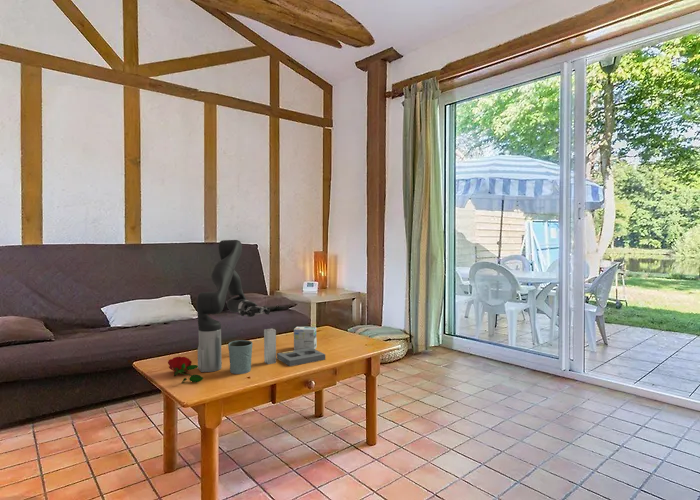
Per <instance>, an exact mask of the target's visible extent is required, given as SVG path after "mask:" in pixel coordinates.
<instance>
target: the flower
mask: <svg viewBox="0 0 700 500" xmlns="http://www.w3.org/2000/svg"><path fill="white" fill-rule="evenodd" d="M167 364H168V368H169V370H171V371H173V372H174V375H173V377H175V376H178V375H179V374H180V375H185V376H189V377H188V378H187V377H185V378H183V379H182V382H181V383H183V382H185V381H187V380H188V381H189V382H191V381H192V382H191V383H200V382H201V381H203V379H204V377H203V376H202V375H199V374H191V373H189V371H191V370H195V369H198V364H192V360H191V359H190V358H189V357H186V356H175V357H173V358H171V359H169V360H168V361H167Z"/></svg>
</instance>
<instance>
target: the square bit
mask: <svg viewBox="0 0 700 500" xmlns="http://www.w3.org/2000/svg"><path fill="white" fill-rule="evenodd" d="M263 340H264V341H263V347H264V348H263V351H264V353H263V356H264V357H263V360H264V363H265V364H266V365H272V364H277V330H276V329H275V328H267V329H266V328H264V330H263Z"/></svg>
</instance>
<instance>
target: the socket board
mask: <svg viewBox="0 0 700 500" xmlns="http://www.w3.org/2000/svg"><path fill="white" fill-rule="evenodd" d="M276 360H279V361H280V362H282V363H283V364H285V365H287V366H288V367H294V366H299V365H304V364H310V363H314V362H319V361H326V353H324V352H322V351H320V350H317V349H313V348H306V349H300V350H294V349H293V350H289V351H283V352H276Z"/></svg>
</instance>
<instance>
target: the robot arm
mask: <svg viewBox="0 0 700 500" xmlns="http://www.w3.org/2000/svg"><path fill="white" fill-rule="evenodd" d="M217 250H218V255H219V258H220V260H219V261H218V262H217V263H216V264H215V266H214V267H213V269H212V273H211V281H212V282H213V285H214V286H215V288H216V289H217V291H205V292H204V291H202V292H199V293H198V295H197V296H196V297H197V298H196V313H197V327H198V347H197V366H198V367H197V369H198V370H199V372H201V373H210V372H216V371H220V370H221V369H222V366H223V365H222V364H223V362H222V323H221V321H219V320H216V319H214V318H212V317H210V316H209V315H212V314H214V315H216V314H220V313H222V312H223V310H224V307H225V304H226V307H227V309H228V310H229V312H232V313H238V315H240V316H241V317H244V316H246V317H248V318H250V317H254V316H256V315H263V314H265V315H270V313H271V307H269V306H265V305H263V306H259V305H258V304H257V303H256V302H254V301H252V300H248V299H247V297H246V296H245V294H244V291H243V286H242V279H241V277H240V275H239V273H238V272H237V271H236V265H237V264H238V262H239V260H240V258H241V255H242V253H243V245H242V241H240V240H238V239H226V240H225V239H223V240H221V241H219V243H218V249H217ZM228 293H229V295H230V296H235V297H232V298H230V299H228V300H227V302H226V299H227V294H228Z"/></svg>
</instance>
